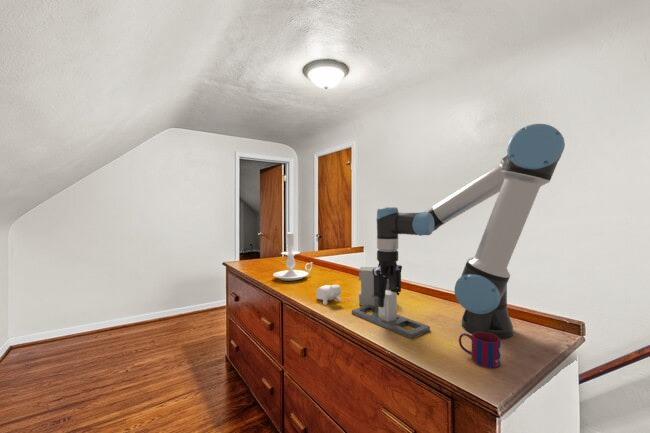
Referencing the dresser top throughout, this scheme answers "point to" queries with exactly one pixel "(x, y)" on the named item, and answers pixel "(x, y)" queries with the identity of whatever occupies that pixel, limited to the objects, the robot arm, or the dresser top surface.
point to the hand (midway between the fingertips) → (387, 313)
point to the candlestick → (291, 263)
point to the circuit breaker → (368, 287)
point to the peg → (390, 306)
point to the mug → (484, 349)
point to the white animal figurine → (329, 293)
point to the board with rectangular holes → (392, 322)
